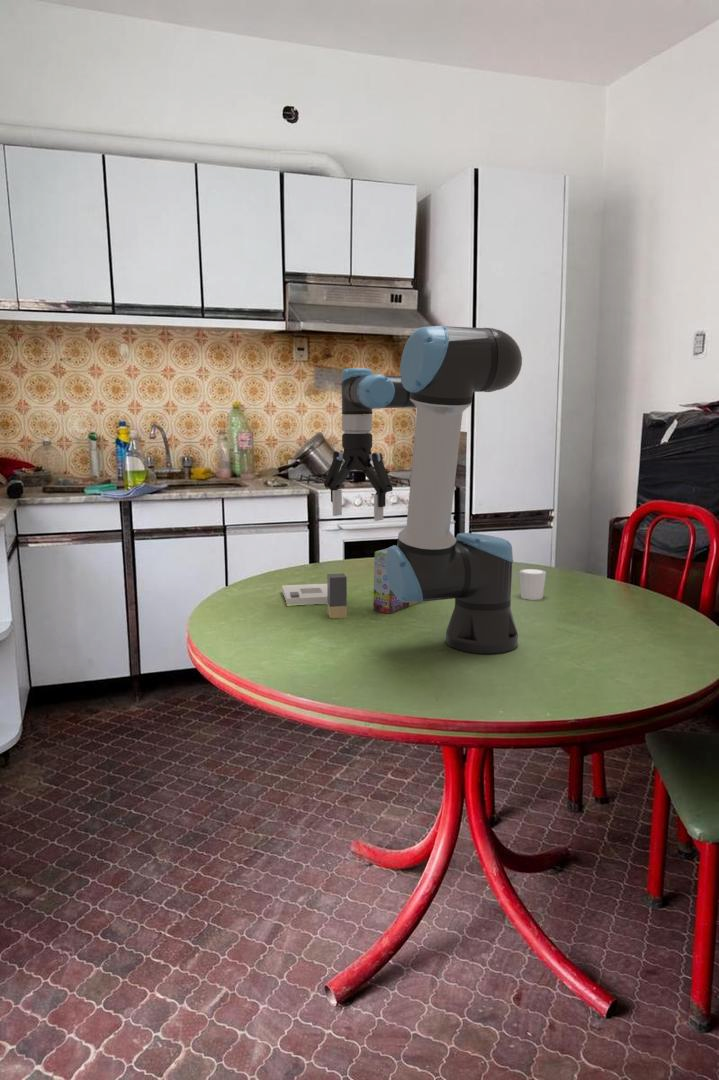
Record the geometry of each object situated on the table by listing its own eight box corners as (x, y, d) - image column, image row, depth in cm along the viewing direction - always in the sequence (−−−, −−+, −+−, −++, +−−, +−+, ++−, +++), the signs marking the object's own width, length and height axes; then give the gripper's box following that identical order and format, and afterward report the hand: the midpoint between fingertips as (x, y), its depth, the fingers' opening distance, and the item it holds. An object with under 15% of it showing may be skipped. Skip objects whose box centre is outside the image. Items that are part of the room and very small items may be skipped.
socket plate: (341, 603, 193) (341, 593, 192) (286, 606, 190) (286, 596, 190) (333, 590, 206) (333, 580, 206) (282, 592, 204) (281, 583, 203)
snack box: (391, 615, 183) (391, 553, 180) (372, 611, 186) (372, 551, 183) (437, 597, 199) (438, 540, 197) (419, 593, 203) (420, 538, 200)
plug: (346, 618, 180) (346, 577, 178) (330, 619, 179) (329, 577, 177) (343, 613, 184) (343, 573, 182) (327, 614, 183) (327, 574, 181)
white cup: (547, 600, 195) (548, 574, 194) (521, 600, 196) (522, 574, 194) (542, 593, 202) (543, 568, 201) (516, 593, 202) (517, 568, 201)
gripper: (407, 432, 182) (406, 520, 185) (329, 431, 198) (330, 511, 201) (387, 433, 176) (387, 524, 180) (309, 432, 192) (311, 515, 196)
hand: (357, 517), depth 190 cm, fingers open, 13 cm apart
